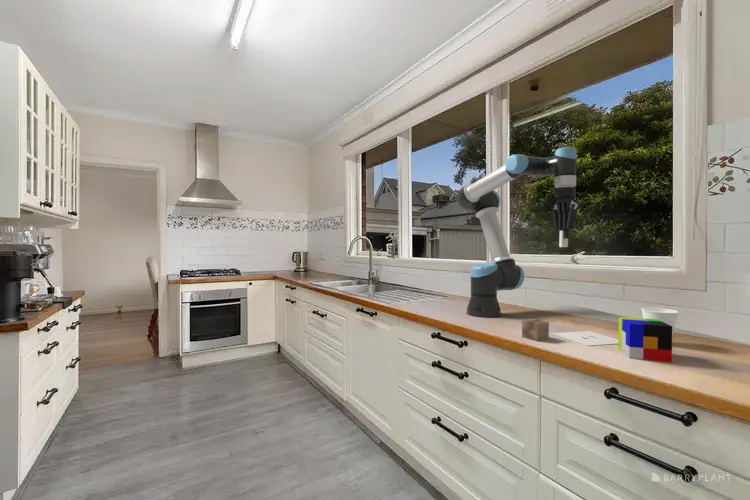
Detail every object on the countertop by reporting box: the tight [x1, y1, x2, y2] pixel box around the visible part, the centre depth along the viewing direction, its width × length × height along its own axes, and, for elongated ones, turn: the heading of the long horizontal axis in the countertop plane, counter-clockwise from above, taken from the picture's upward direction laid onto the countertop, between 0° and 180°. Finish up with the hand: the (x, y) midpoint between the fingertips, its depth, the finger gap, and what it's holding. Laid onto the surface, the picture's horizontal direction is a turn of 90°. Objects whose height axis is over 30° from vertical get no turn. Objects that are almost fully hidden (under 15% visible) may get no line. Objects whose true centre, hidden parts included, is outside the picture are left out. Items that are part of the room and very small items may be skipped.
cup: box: [640, 306, 680, 338], centre depth 118 cm, size 10×10×11 cm
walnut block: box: [521, 318, 550, 342], centre depth 124 cm, size 6×6×6 cm
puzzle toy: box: [617, 316, 673, 363], centre depth 106 cm, size 10×10×10 cm
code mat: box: [551, 330, 618, 347], centre depth 124 cm, size 16×16×1 cm
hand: (563, 246), depth 143 cm, fingers closed
